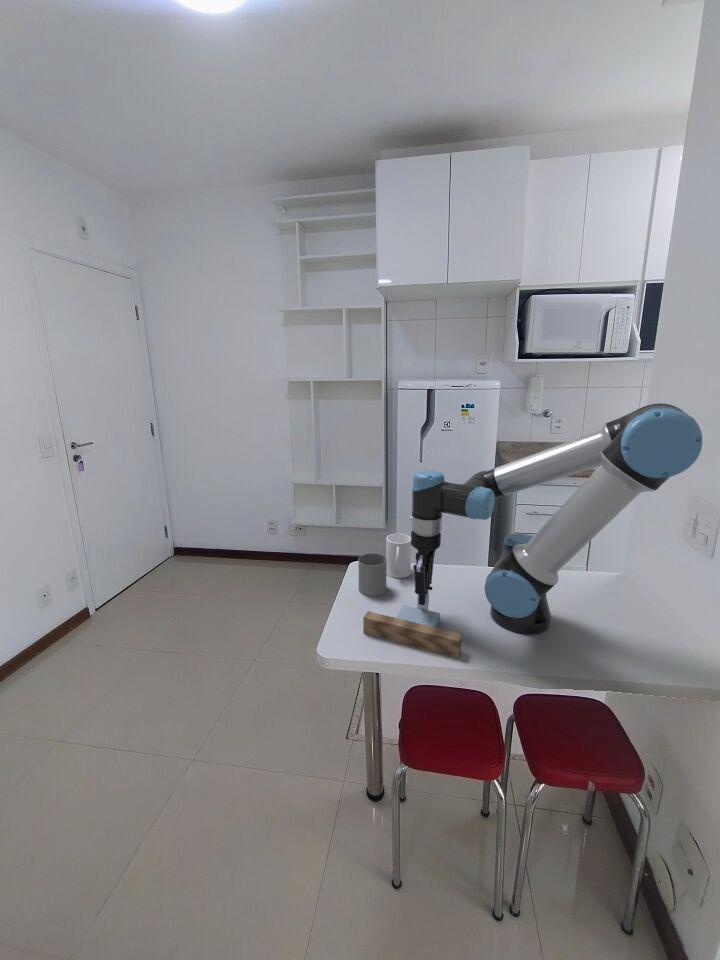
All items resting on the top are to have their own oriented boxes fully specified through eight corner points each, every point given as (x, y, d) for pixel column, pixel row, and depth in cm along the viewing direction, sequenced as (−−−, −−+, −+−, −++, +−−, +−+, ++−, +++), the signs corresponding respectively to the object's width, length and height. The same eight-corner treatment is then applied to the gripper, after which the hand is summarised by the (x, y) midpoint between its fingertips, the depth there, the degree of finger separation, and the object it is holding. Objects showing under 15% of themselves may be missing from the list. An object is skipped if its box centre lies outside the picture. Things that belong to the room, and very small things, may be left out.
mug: (408, 584, 131) (409, 549, 128) (381, 581, 133) (381, 546, 130) (412, 567, 142) (413, 534, 139) (387, 564, 144) (388, 532, 141)
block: (439, 624, 112) (440, 613, 111) (431, 642, 105) (432, 630, 104) (403, 616, 116) (403, 604, 115) (393, 632, 109) (393, 620, 108)
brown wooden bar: (460, 650, 101) (461, 633, 100) (458, 657, 99) (459, 641, 98) (367, 626, 111) (367, 611, 109) (363, 632, 108) (363, 617, 107)
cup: (356, 595, 126) (356, 564, 123) (360, 581, 133) (360, 552, 131) (384, 597, 124) (385, 566, 122) (387, 583, 132) (388, 554, 129)
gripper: (418, 520, 115) (415, 597, 121) (404, 538, 104) (401, 622, 110) (446, 524, 112) (441, 603, 118) (434, 543, 101) (430, 629, 107)
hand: (422, 612), depth 114 cm, fingers closed
